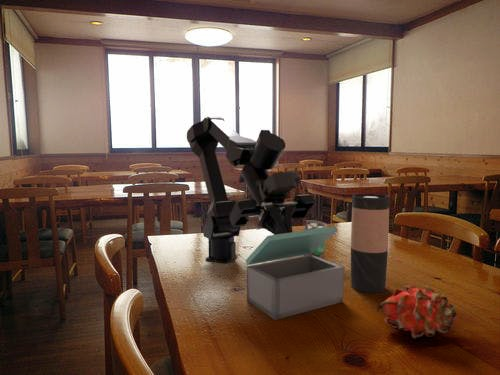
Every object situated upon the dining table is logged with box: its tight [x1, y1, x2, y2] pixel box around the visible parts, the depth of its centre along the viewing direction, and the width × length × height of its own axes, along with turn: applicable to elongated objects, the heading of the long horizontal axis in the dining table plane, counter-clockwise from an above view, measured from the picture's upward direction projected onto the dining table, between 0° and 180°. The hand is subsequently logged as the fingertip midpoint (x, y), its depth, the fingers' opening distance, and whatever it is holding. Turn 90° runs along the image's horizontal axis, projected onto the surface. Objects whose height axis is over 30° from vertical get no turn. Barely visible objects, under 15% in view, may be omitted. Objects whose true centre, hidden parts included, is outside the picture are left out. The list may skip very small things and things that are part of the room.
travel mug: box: [350, 193, 390, 294], centre depth 83 cm, size 8×8×20 cm
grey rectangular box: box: [246, 255, 345, 321], centre depth 76 cm, size 10×16×7 cm, turn 120°
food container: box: [302, 219, 328, 260], centre depth 101 cm, size 12×6×10 cm, turn 168°
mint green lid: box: [244, 225, 338, 266], centre depth 76 cm, size 10×16×1 cm
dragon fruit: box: [376, 284, 458, 339], centre depth 63 cm, size 8×8×12 cm
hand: (291, 243), depth 76 cm, fingers closed, pressing on mint green lid
